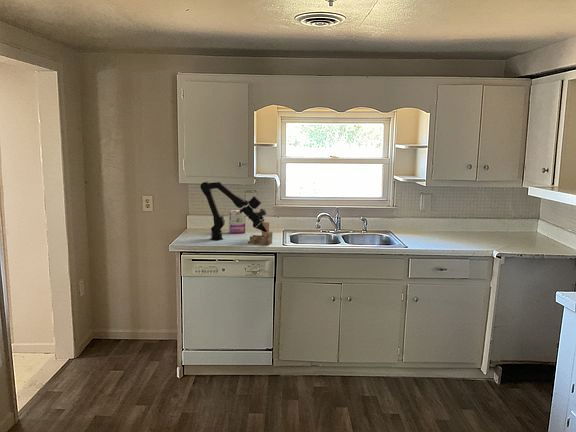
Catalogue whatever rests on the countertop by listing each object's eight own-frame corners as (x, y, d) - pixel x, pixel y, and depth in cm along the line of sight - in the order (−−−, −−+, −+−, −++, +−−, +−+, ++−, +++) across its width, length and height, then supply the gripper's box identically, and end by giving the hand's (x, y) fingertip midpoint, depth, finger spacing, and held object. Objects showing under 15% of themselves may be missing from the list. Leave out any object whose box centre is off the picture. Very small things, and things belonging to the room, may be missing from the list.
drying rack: (247, 243, 307) (247, 232, 306) (252, 241, 314) (252, 230, 313) (268, 245, 303) (268, 233, 302) (272, 242, 310) (272, 231, 309)
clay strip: (261, 241, 315) (261, 221, 313) (261, 240, 317) (262, 221, 315) (269, 241, 315) (269, 222, 313) (269, 240, 317) (269, 221, 315)
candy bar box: (243, 232, 345) (243, 209, 343) (245, 233, 341) (245, 210, 338) (228, 232, 341) (228, 210, 339) (230, 234, 336) (230, 211, 334)
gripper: (257, 207, 303) (274, 224, 305) (260, 203, 322) (276, 220, 323) (245, 219, 305) (262, 236, 306) (249, 214, 323) (265, 231, 325)
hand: (267, 230), depth 315 cm, fingers open, 9 cm apart
